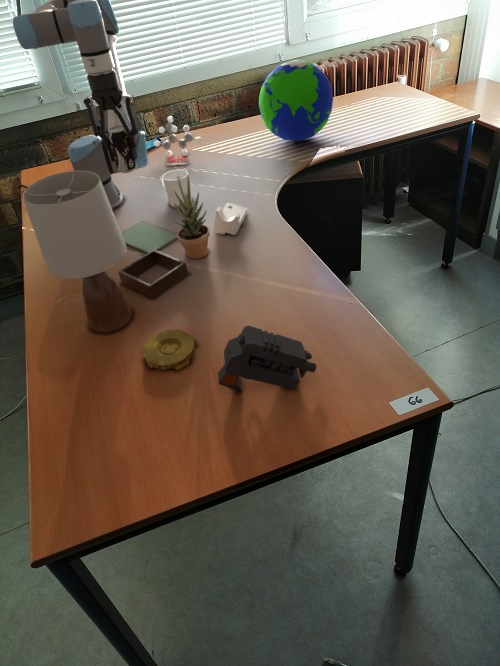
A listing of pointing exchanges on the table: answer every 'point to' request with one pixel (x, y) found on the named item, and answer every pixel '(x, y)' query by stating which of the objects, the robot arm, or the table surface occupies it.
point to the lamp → (81, 241)
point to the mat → (147, 237)
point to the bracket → (229, 218)
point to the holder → (160, 284)
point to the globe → (296, 100)
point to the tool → (264, 359)
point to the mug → (174, 185)
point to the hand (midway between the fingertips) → (124, 159)
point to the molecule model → (173, 139)
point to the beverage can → (121, 149)
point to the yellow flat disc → (169, 349)
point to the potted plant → (192, 225)
